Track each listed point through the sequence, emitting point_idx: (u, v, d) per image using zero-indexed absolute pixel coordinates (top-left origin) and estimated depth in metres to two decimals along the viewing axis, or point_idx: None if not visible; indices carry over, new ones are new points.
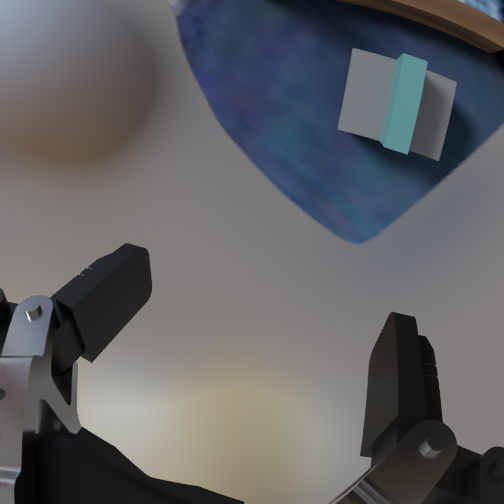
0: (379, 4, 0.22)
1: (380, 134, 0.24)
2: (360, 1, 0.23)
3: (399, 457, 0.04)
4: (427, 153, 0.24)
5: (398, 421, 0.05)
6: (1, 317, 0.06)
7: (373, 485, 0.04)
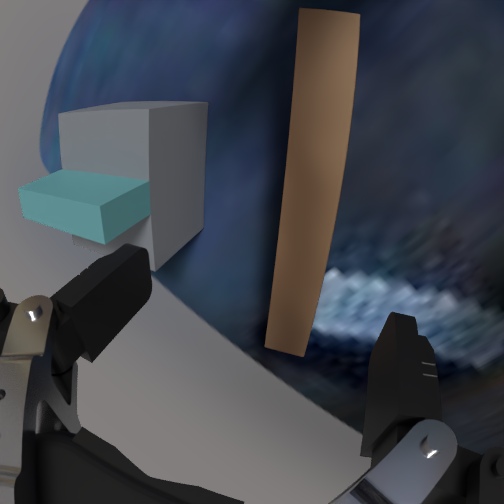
0: None
1: (66, 169, 0.18)
2: None
3: (399, 457, 0.04)
4: None
5: (398, 421, 0.05)
6: (1, 317, 0.06)
7: (373, 485, 0.04)
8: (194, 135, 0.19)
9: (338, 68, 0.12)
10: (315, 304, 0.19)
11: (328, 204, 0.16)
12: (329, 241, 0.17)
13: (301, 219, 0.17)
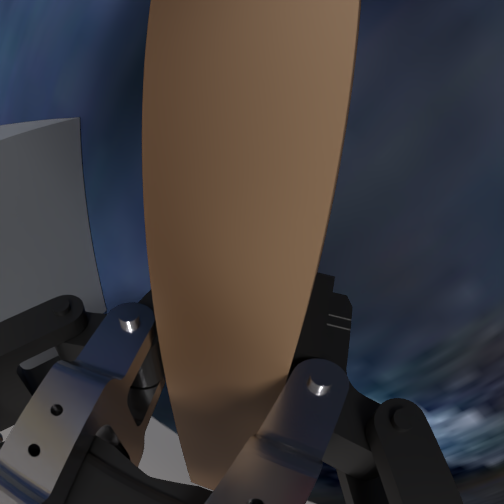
0: None
1: None
2: None
3: (288, 401, 0.05)
4: None
5: (294, 360, 0.07)
6: (81, 329, 0.07)
7: (271, 433, 0.05)
8: (49, 182, 0.10)
9: None
10: None
11: (262, 378, 0.06)
12: None
13: (204, 388, 0.07)
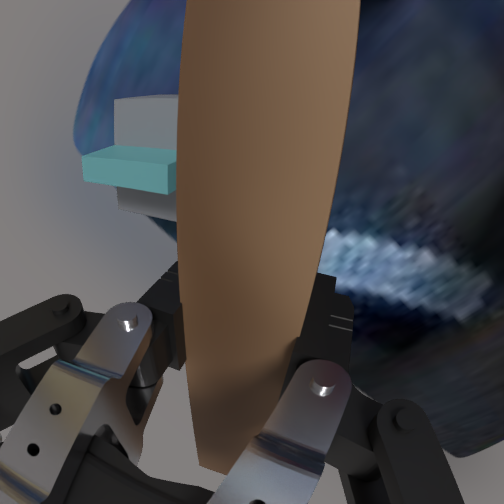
0: None
1: (119, 144, 0.23)
2: None
3: (291, 402, 0.05)
4: (120, 196, 0.26)
5: (296, 361, 0.07)
6: (79, 329, 0.07)
7: (274, 434, 0.05)
8: None
9: None
10: None
11: (275, 343, 0.07)
12: (279, 395, 0.08)
13: (221, 357, 0.08)
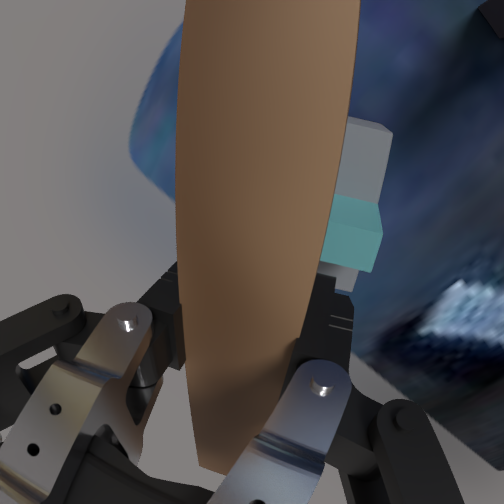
0: None
1: None
2: None
3: (291, 402, 0.05)
4: None
5: (296, 361, 0.07)
6: (79, 329, 0.07)
7: (274, 434, 0.05)
8: None
9: None
10: None
11: (275, 345, 0.07)
12: None
13: (221, 358, 0.08)
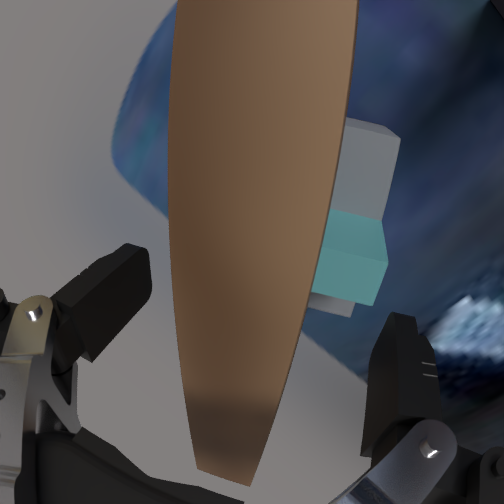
0: None
1: None
2: None
3: (399, 457, 0.04)
4: None
5: (398, 421, 0.05)
6: (1, 317, 0.06)
7: (373, 485, 0.04)
8: None
9: None
10: (258, 456, 0.10)
11: (271, 350, 0.07)
12: (275, 402, 0.08)
13: (216, 363, 0.08)
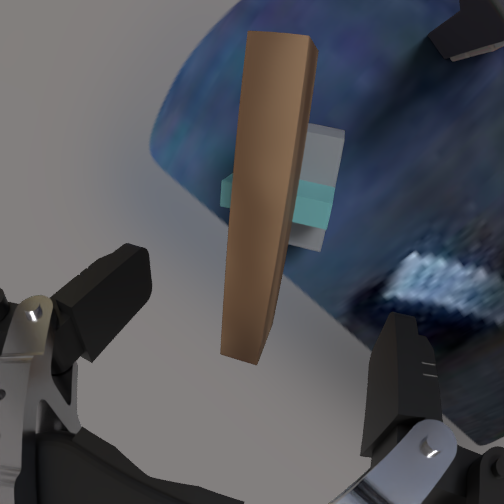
0: None
1: None
2: None
3: (399, 457, 0.04)
4: None
5: (398, 421, 0.05)
6: (1, 317, 0.06)
7: (373, 485, 0.04)
8: None
9: (283, 93, 0.13)
10: (264, 318, 0.20)
11: (272, 227, 0.17)
12: (274, 261, 0.18)
13: (246, 239, 0.18)
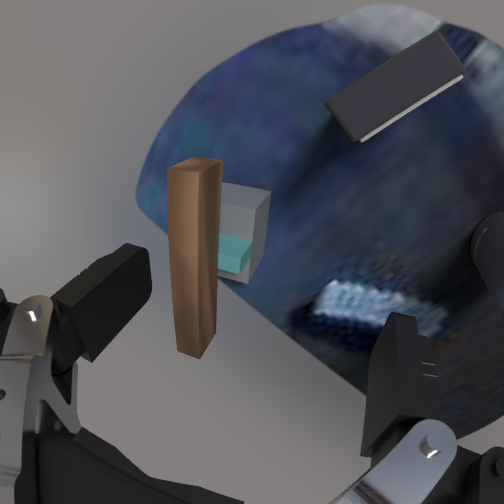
0: None
1: None
2: None
3: (399, 457, 0.04)
4: None
5: (398, 421, 0.05)
6: (1, 317, 0.06)
7: (373, 485, 0.04)
8: (265, 211, 0.39)
9: (188, 208, 0.26)
10: (198, 329, 0.32)
11: (193, 278, 0.29)
12: (197, 297, 0.30)
13: (181, 284, 0.30)
